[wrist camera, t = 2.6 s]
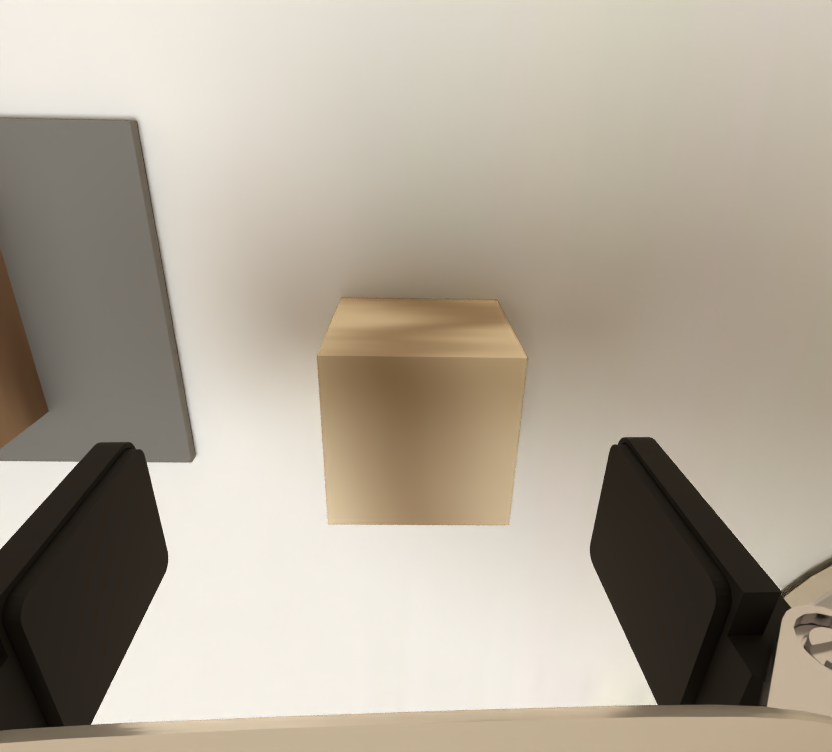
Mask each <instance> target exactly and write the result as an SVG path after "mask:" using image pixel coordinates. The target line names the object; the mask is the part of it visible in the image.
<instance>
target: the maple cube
mask: <svg viewBox="0 0 832 752" xmlns="http://www.w3.org/2000/svg"><path fill="white" fill-rule="evenodd" d="M527 359H528V358H527V356H526V354H525V352H524V350H523V348H522V346H521V344H520V343H519V341H518V339H517V337H516V335H515V333H514V331H513V329H512V327H511V326H510V324H509V322H508V320H507V318H506V316H505V314H504V312H503V310H502V309H501V307H500V305H499V303H498V301H497V300H485V299H403V298H341V299H340V302H339V304H338V306H337V309H336V311H335V314H334V316H333V318H332V321H331V323H330V326H329V328H328V330H327V333H326V335H325V338H324V340H323V342H322V345H321V347H320V350H319V352H318V354H317V364H318V379H319V395H320V410H321V426H322V442H323V457H324V473H325V488H326V504H327V519H328V524H359V525H509V522H510V513H511V504H512V495H513V486H514V477H515V468H516V459H517V450H518V441H519V432H520V423H521V414H522V405H523V396H524V387H525V377H526V368H527Z"/></svg>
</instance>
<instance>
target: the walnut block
mask: <svg viewBox="0 0 832 752" xmlns="http://www.w3.org/2000/svg"><path fill="white" fill-rule="evenodd" d="M48 412H49V410H48V407H47V404H46V400H45V397H44V394H43V390H42V387H41V383H40V380H39V377H38V373H37V370H36V367H35V363H34V360H33V356H32V353H31V350H30V346H29V343H28V340H27V336H26V333H25V330H24V326H23V323H22V319H21V316H20V313H19V309H18V306H17V303H16V299H15V296H14V292H13V289H12V286H11V282H10V279H9V276H8V272H7V269H6V265H5V262H4V259H3V255H2V252H1V249H0V449H1V448H2V447H3V446H5V445H6V444H7V443H9V442H10V441H11V440H13V439H14V438H15V437H16V436H18V435H19V434H20V433H22V432H23V431H24V430H26V429H27V428H28V427H29V426H31V425H32V424H33V423H35V422H36V421H37V420H39V419H40V418H41V417H42V416H44V415H45V414H46V413H48Z"/></svg>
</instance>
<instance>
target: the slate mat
mask: <svg viewBox="0 0 832 752" xmlns="http://www.w3.org/2000/svg"><path fill="white" fill-rule="evenodd" d="M0 249H1V252H2V255H3V259H4V262H5V265H6V269H7V272H8V276H9V279H10V282H11V286H12V289H13V292H14V296H15V299H16V303H17V306H18V309H19V313H20V316H21V319H22V323H23V326H24V330H25V333H26V336H27V340H28V343H29V346H30V350H31V353H32V356H33V360H34V363H35V367H36V370H37V373H38V377H39V380H40V383H41V387H42V390H43V394H44V397H45V400H46V404H47V407H48V410H49V412H48V413H46V414H45V415H44V416H42V417H41V418H40V419H39V420H37V421H36V422H35V423H33V424H32V425H31V426H29V427H28V428H27V429H26V430H24V431H23V432H22V433H20V434H19V435H18V436H16V437H15V438H14V439H13V440H11V441H10V442H9V443H7V444H6V445H5V446H3V447H2V448H1V449H0V461H73V462H80V461H81V460H82V459H83V457H84V456H85V455H86V454H87V453H88V452H89V451H90V450H91V449H92V447H93V446H94V445H96V444H97V443H100V442H130V443H132V444H133V445H134V446H135V448H136V449H140V450H142V451H143V452H144V455H145V458H146V462H192V461H193V460H194V458H195V457H196V456H195V450H194V444H193V439H192V433H191V427H190V422H189V416H188V410H187V405H186V399H185V393H184V388H183V382H182V376H181V371H180V365H179V359H178V354H177V348H176V342H175V337H174V331H173V325H172V320H171V314H170V308H169V303H168V297H167V291H166V286H165V280H164V274H163V269H162V263H161V257H160V252H159V246H158V240H157V235H156V229H155V223H154V218H153V212H152V206H151V201H150V195H149V189H148V184H147V178H146V172H145V167H144V161H143V155H142V150H141V144H140V138H139V133H138V127H137V121H123V120H75V119H27V118H0Z"/></svg>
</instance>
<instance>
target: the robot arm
mask: <svg viewBox="0 0 832 752" xmlns="http://www.w3.org/2000/svg"><path fill="white" fill-rule="evenodd" d="M590 556H591V560H592V563H593V566H594V568H595V570H596V572H597V574H598V576H599V579H600V581H601V583H602V585H603V587H604V589H605V592H606V594H607V596H608V598H609V600H610V602H611V605H612V607H613V609H614V611H615V613H616V615H617V618H618V620H619V622H620V624H621V626H622V628H623V631H624V633H625V635H626V637H627V639H628V641H629V644H630V646H631V648H632V650H633V652H634V654H635V657H636V659H637V661H638V663H639V665H640V667H641V670H642V672H643V674H644V676H645V678H646V680H647V683H648V685H649V687H650V689H651V691H652V693H653V696H654V698H655V700H656V702H657V704H658V705H633V706H590V707H556V708H522V709H487V710H455V711H426V712H397V713H368V714H340V715H313V716H285V717H260V718H235V719H211V720H186V721H162V722H138V723H115V724H98V725H91V723H92V721H93V719H94V717H95V715H96V713H97V711H98V709H99V707H100V705H101V703H102V701H103V699H104V697H105V694H106V692H107V690H108V688H109V686H110V684H111V682H112V680H113V678H114V676H115V674H116V672H117V670H118V668H119V666H120V664H121V662H122V660H123V658H124V656H125V654H126V652H127V650H128V648H129V646H130V644H131V642H132V640H133V638H134V635H135V633H136V631H137V629H138V627H139V625H140V623H141V621H142V619H143V617H144V615H145V613H146V611H147V609H148V607H149V605H150V603H151V601H152V599H153V597H154V595H155V593H156V591H157V589H158V587H159V585H160V583H161V581H162V579H163V576H164V574H165V572H166V569H167V565H168V551H167V547H166V543H165V539H164V534H163V530H162V526H161V522H160V517H159V513H158V509H157V505H156V500H155V496H154V492H153V488H152V484H151V479H150V475H149V471H148V467H147V462H146V458H145V455H144V452H143V451H142V450H140V449H136V448H135V446H134V445H133V444H132V443H130V442H100V443H97V444H96V445H94V446H93V447H92V449H91V450H90V451H89V452H88V453H87V454H86V455H85V456H84V457H83V459H82V460H81V461H80V462H79V463H78V464H77V465H76V466H75V467H74V469H73V470H72V471H71V472H70V473H69V474H68V475H67V476H66V477H65V478H64V480H63V481H62V482H61V483H60V484H59V485H58V486H57V487H56V488H55V490H54V491H53V492H52V493H51V494H50V495H49V496H48V497H47V498H46V500H45V501H44V502H43V503H42V504H41V505H40V506H39V507H38V508H37V510H36V511H35V512H34V513H33V514H32V515H31V516H30V517H29V518H28V519H27V521H26V522H25V523H24V524H23V525H22V526H21V527H20V528H19V529H18V531H17V532H16V533H15V534H14V535H13V536H12V537H11V538H10V539H9V541H8V542H7V543H6V544H5V545H4V546H3V547H2V548H1V549H0V752H832V565H831V566H829V567H828V568H826V569H824V570H822V571H820V572H819V573H817V574H815V575H813V576H811V577H810V578H809V579H807V580H806V581H804V582H803V583H802V584H800V585H799V586H798V587H796V588H795V589H794V590H792V591H791V592H790V593H788V594H787V595H786V596H785V597H784V598H783V597H782V596H781V590H780V589H779V588H778V587H777V586H776V584H775V583H774V582H773V581H772V580H771V578H770V577H769V576H768V575H767V574H766V572H765V571H764V570H763V569H762V568H761V566H760V565H759V564H758V563H757V562H756V560H755V559H754V558H753V557H752V556H751V555H750V553H749V552H748V551H747V550H746V549H745V547H744V546H743V545H742V544H741V543H740V541H739V540H738V539H737V538H736V537H735V535H734V534H733V533H732V532H731V531H730V529H729V528H728V527H727V526H726V525H725V523H724V522H723V521H722V520H721V519H720V517H719V516H718V515H717V514H716V513H715V511H714V510H713V509H712V508H711V507H710V505H709V504H708V503H707V502H706V501H705V499H704V498H703V497H702V496H701V495H700V493H699V492H698V491H697V490H696V489H695V487H694V486H693V485H692V484H691V483H690V481H689V480H688V479H687V478H686V477H685V476H684V474H683V473H682V472H681V471H680V470H679V468H678V467H677V466H676V465H675V464H674V462H673V461H672V460H671V459H670V458H669V456H668V455H667V454H666V453H665V452H664V450H663V449H662V448H661V447H660V446H659V444H658V443H657V442H656V441H655V440H654V439H653V438H650V437H624V438H622V439H621V440H620V441H619V443H618V445H613V446H612V447H611V449H610V452H609V457H608V461H607V466H606V471H605V476H604V481H603V486H602V490H601V495H600V500H599V505H598V510H597V515H596V519H595V524H594V529H593V534H592V539H591V543H590Z"/></svg>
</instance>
